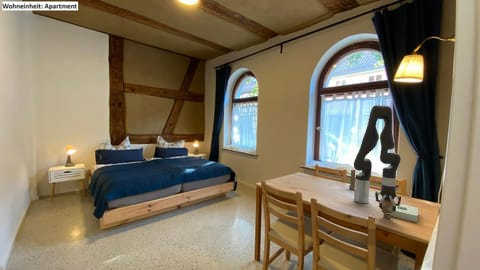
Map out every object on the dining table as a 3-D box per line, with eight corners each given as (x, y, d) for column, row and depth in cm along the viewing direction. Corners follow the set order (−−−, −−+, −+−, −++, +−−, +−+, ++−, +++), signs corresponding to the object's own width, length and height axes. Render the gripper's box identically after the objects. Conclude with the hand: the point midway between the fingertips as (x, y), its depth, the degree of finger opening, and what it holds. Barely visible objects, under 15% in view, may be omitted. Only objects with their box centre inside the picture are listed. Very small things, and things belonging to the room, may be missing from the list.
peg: (380, 217, 135) (381, 200, 134) (381, 214, 139) (382, 197, 138) (392, 220, 131) (393, 202, 130) (393, 217, 135) (394, 200, 135)
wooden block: (362, 189, 191) (363, 169, 190) (351, 190, 189) (352, 170, 188) (359, 188, 195) (360, 168, 193) (349, 188, 193) (349, 169, 192)
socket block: (385, 214, 139) (386, 208, 139) (388, 207, 152) (388, 201, 151) (417, 222, 129) (417, 215, 129) (417, 213, 141) (417, 207, 141)
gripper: (403, 185, 132) (401, 211, 133) (376, 180, 141) (374, 205, 142) (402, 187, 126) (400, 215, 127) (374, 183, 135) (373, 208, 136)
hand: (387, 209), depth 135 cm, fingers closed on peg, 6 cm apart
